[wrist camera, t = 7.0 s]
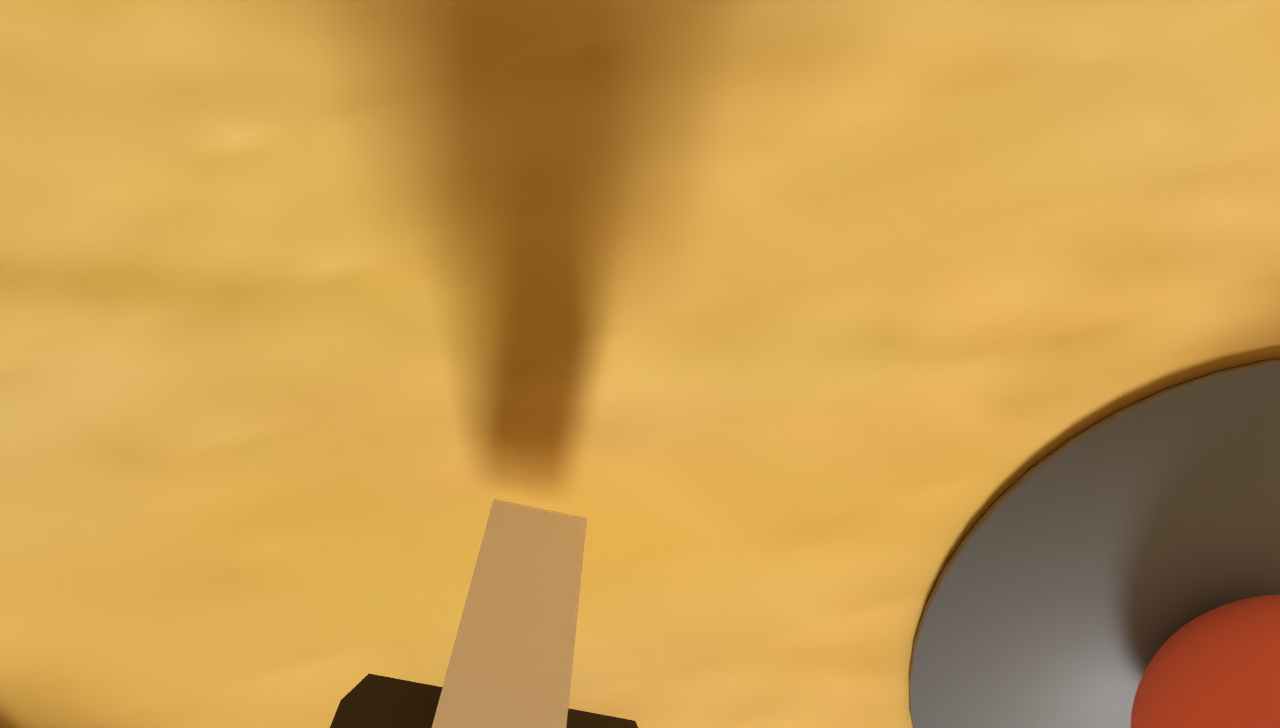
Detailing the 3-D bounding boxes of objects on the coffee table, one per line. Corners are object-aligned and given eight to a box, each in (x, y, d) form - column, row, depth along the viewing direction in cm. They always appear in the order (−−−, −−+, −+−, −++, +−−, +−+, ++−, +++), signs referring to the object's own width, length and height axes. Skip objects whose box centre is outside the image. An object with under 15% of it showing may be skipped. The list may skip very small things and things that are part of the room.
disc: (776, 729, 19) (777, 736, 19) (1280, 204, 15) (1288, 207, 14) (1220, 963, 22) (1225, 971, 22) (1752, 585, 17) (1765, 591, 17)
